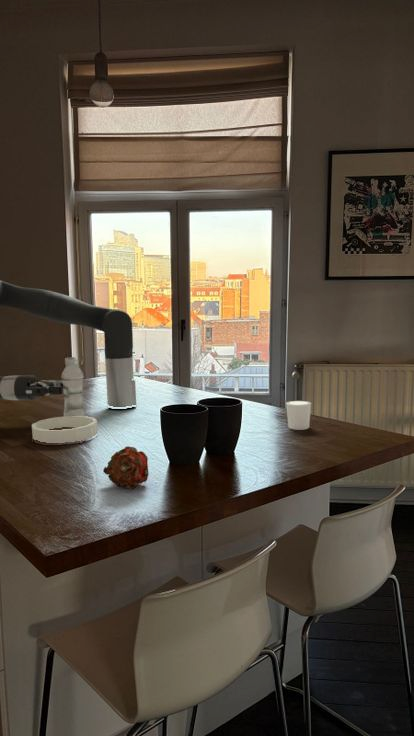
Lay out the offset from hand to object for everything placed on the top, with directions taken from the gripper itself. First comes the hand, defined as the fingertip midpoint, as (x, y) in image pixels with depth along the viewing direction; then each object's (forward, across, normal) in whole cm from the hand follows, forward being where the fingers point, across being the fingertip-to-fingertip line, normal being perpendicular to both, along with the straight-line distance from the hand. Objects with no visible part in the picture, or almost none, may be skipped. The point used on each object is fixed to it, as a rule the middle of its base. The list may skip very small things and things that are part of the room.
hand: (68, 387), depth 167 cm
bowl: (+5, -15, +11) cm, 19 cm away
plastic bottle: (+1, 0, +11) cm, 11 cm away
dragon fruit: (+36, -49, +11) cm, 62 cm away
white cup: (+68, +1, +11) cm, 69 cm away
